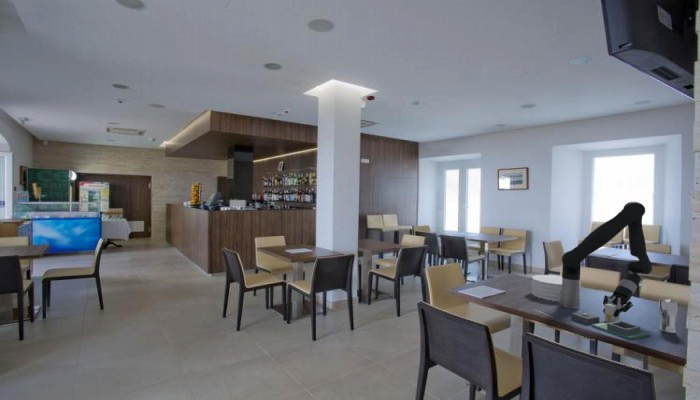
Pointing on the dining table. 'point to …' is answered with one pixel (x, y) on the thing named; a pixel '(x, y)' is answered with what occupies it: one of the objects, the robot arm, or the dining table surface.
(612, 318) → the plug
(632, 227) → the robot arm
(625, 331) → the board
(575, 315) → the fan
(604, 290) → the dining table surface
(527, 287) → the dining table surface
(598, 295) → the dining table surface
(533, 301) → the dining table surface
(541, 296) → the plate stack
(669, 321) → the beer glass
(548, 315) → the butter knife
